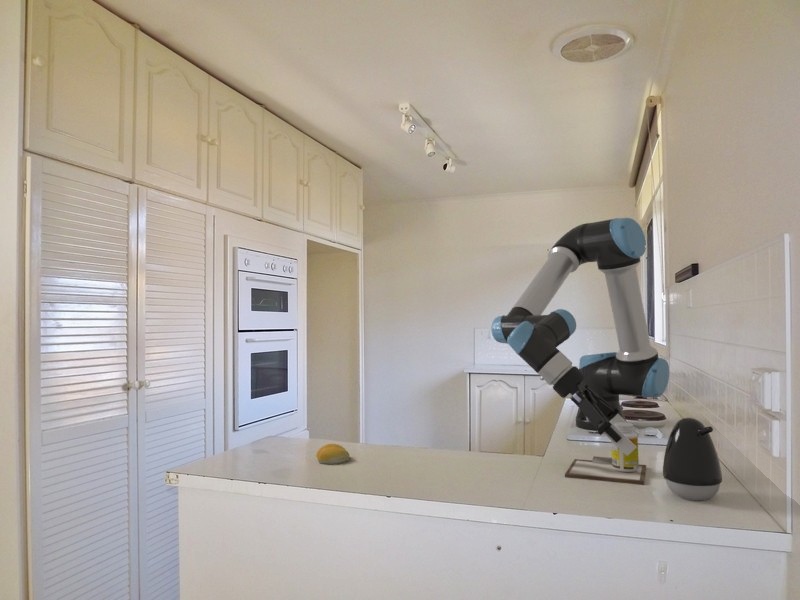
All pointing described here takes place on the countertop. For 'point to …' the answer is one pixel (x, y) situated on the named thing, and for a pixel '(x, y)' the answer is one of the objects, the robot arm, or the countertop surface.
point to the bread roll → (332, 454)
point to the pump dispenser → (692, 461)
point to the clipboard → (604, 471)
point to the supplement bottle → (618, 457)
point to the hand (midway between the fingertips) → (633, 444)
